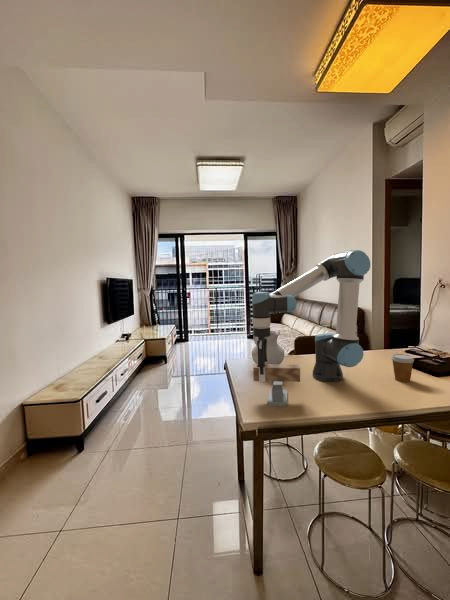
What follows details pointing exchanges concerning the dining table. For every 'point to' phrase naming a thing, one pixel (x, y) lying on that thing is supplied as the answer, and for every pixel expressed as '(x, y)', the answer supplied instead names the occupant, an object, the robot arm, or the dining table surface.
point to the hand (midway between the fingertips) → (263, 378)
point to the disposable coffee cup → (402, 367)
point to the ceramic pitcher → (270, 349)
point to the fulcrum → (277, 395)
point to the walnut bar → (278, 372)
